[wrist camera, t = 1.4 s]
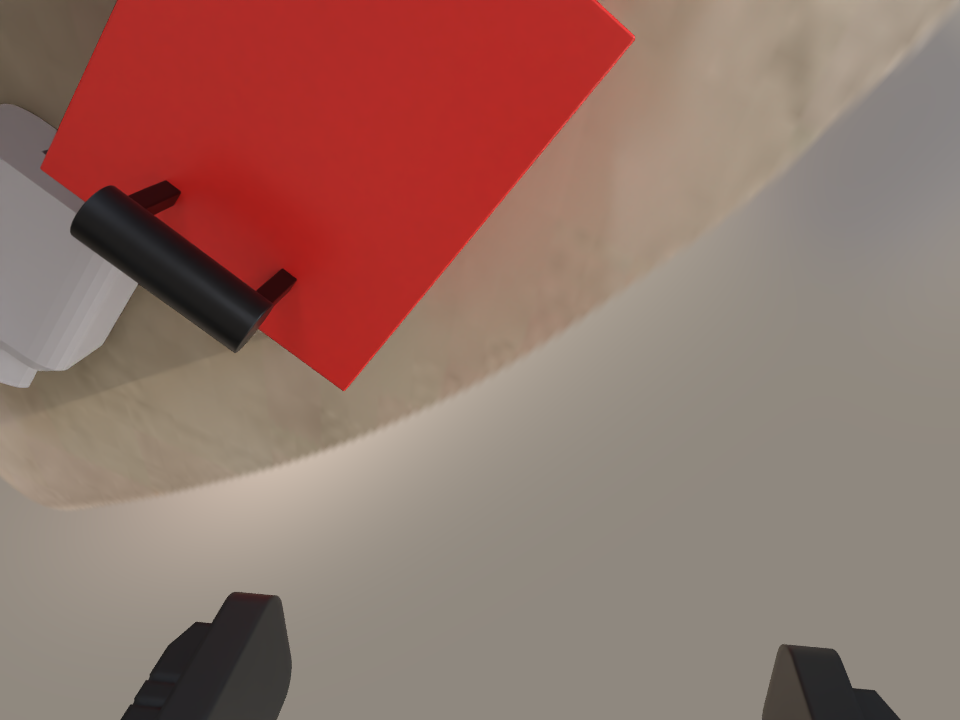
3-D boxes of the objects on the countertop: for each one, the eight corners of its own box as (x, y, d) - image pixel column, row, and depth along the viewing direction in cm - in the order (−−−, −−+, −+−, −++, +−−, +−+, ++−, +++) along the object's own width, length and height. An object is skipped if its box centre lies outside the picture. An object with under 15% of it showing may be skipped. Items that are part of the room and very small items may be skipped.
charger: (-73, 314, 41) (18, 100, 35) (69, 409, 43) (180, 221, 37) (-148, 349, 37) (-60, 113, 31) (13, 453, 39) (127, 249, 32)
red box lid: (349, 383, 29) (300, 460, 24) (52, 164, 27) (-70, 200, 22) (635, 37, 22) (649, 45, 17) (271, -301, 20) (165, -404, 15)
